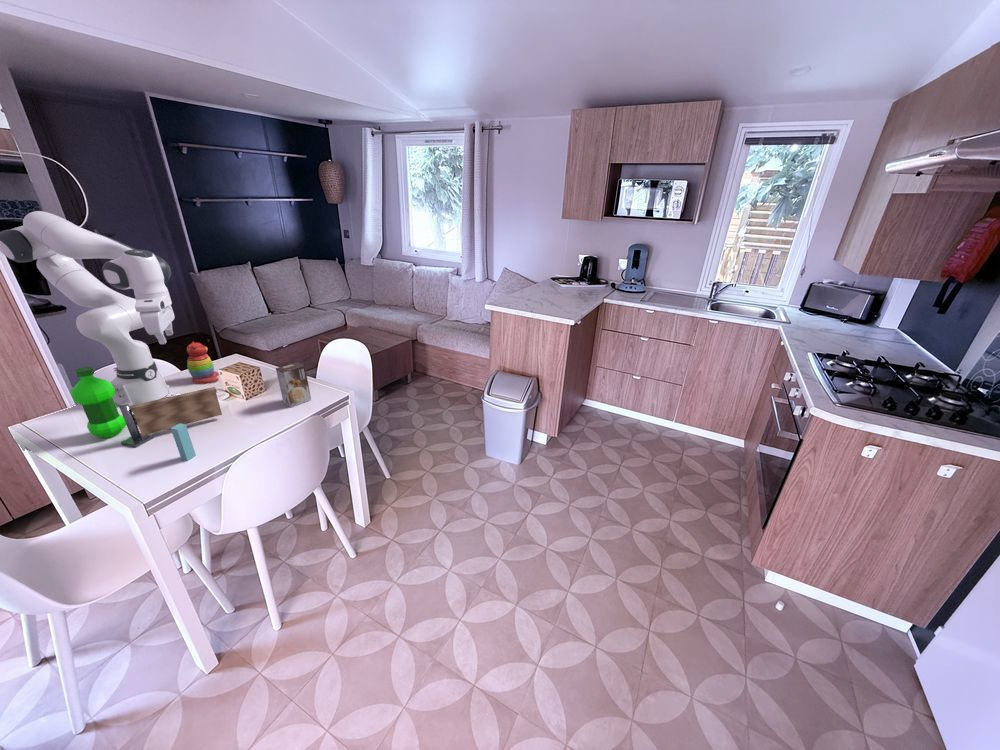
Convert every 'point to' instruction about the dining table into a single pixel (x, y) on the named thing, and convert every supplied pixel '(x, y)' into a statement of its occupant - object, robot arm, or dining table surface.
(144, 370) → the robot arm
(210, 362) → the stacking bear
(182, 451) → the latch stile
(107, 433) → the plastic bottle
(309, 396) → the coffee box
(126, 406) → the hinge post
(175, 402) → the gate
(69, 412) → the dining table surface
